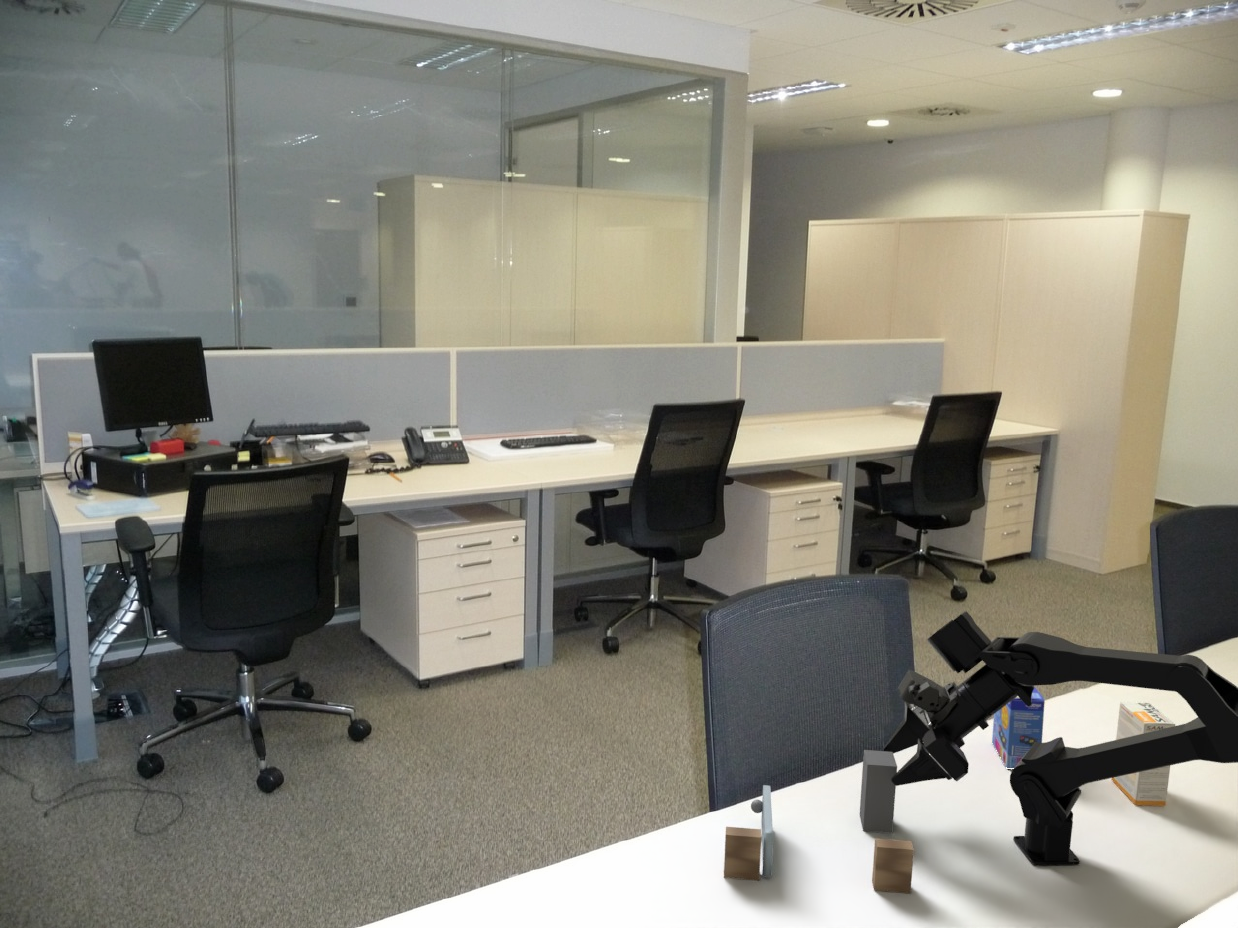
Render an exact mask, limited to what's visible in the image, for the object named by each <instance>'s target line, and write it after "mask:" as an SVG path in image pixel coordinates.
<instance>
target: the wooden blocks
mask: <svg viewBox="0 0 1238 928" xmlns="http://www.w3.org/2000/svg"><path fill="white" fill-rule="evenodd" d="M761 849H762V828H750V827H748V828H747V827H736V826H726V827H725V841H724V862H723V878H725V879H735V880H746V881H747V880H748V881H758V882H759V881H760V869H761V868H760V867H761V855H762V854H761V851H762V850H761ZM873 850H874V852H873V863H872V874H871V875H872V876H871V883H872V886H873V887H872V888H873V891H875V892H876V891H877V892H887V893H889V892H890V893H899V894H901V893H902V894H911V893H912V891H911V890H912V878H913V876H912V875H913V865H914V864H913V863H914V852H915V849H914V846H913V841H910V840H901V839H900V840H899V839H887V838H878V837H877V838H874V849H873Z"/></svg>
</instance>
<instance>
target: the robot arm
mask: <svg viewBox="0 0 1238 928" xmlns="http://www.w3.org/2000/svg"><path fill="white" fill-rule="evenodd" d="M926 642H928V644H930V646H931V647H932V648H933V649H934V650H935V651H936V653H937V654H938V655H939V656H940V657H941V658H942V660H943V661H944V662H945V663H946V664H947V666H948V667H950V669H951V671H953V672H956V673H957V674H959V673H961V672H963V673H964V674H967V673H968V672H970V671H971V670H972V669H973V668H975V667H976V666H977V665H979V664H980V663H981V662H982V661H983V663H984V665H983V666H981V667H980V668H978V669H977V670H976V671H975V672H973V674H971V675H970V676H969V677H967V678H966V679H965V680H964V681H963V682H961V683H960V684H957V683H956V682H955V681H953V682H949V683H947V684H946V685H945V686H942V685H940V684H939V683H937V682H935V681H934V680H932V679H930V678H928V677H927V676H924V675H922V674H920V673H919V672H917V671H916V670H915V671H914V670H912V669H908V671H907V672H906V673H905V675H904V677H903V679H902V680H901V682H900V684H899V685H898V686H897V690H898V691H899V692H900V694H899V696H900V699H902V701H904V717H903V719H902V721H900V724H899V725H898V727H897V728H896V730H895V731H894V733H893V734H892V735H891V737H889V740H888V741H887V742H886V744H885V745H884V747H883V749H882V751H886V752H893V754H896V753H899V752H901V751H904V750H906V749H909V748H911V747H914V746H916V747H917V748H916V753H915V754H914V755H913V756H911V757H910V759H908V761H907V762H906V763H904V765H903V766H902V767H901V768H900V769H898V770H897V773H896V774H895V775H894V776H893V777H892V779H891V781H892V782H893V783H894V784H895V785H896V787H898V786H903V785H910V784H914V783H915V784H916V783H920V782H926V781H933V780H942V779H947V780H948V781H950V780H952V779H953V780H954V781H955V782H958V781H959V780H961V779H962V778H964V777H965V776H966V775H968V774H969V764H970V763H969V761H968V759H967V757H966V754H965V752H964V751H963V750H962V749H961V748H962V747H963V746H965V744H966V743H965V741H964V738H966V737H967V736H968V735H969V734H970V733H972V732H973V731H974V730H975V729H977V728H978V727H980V729H981V730H983V731H984V730H985V729H987V728H988V727H989V726H990V725H989V723H988V721H987V720H989V719H990V718H991V717H992V716H994V714H995V713H996V712H998V711H999V710H1000V709H1001V708H1003V707H1004V706H1005V705H1007V704H1008V703H1009V702H1011V701H1012V700H1013V699H1014V698H1016V697H1017V696H1019V698H1020V699H1021V700H1022V701H1023V702H1024V703H1025V704H1026V705H1027V706H1031V705H1032V699H1031V697H1032V692H1033V690H1034V687H1035V686H1053V685H1060V684H1063V683H1068V682H1088V683H1096V684H1097V683H1098V684H1105V685H1106V684H1107V685H1115V686H1123V687H1124V686H1125V687H1131V688H1133V687H1134V688H1142V689H1150V690H1159V691H1167V692H1175V693H1177V694H1178V695H1179V696H1181V698H1183V699H1184V700H1185V702H1186V703H1187V704H1188V706H1189V707H1190V708H1191V710H1192V711H1193V712H1194V714H1195V715H1196V716H1197V717H1195V718H1194V719H1192V720H1191V721H1188V722H1186V723H1182V724H1178V725H1175V726H1173V727H1169V728H1165V729H1161V730H1156V731H1152V732H1148V733H1144V734H1139V735H1135V736H1131V737H1127V738H1122V739H1118V740H1116V739H1115V740H1110V741H1105V742H1102V743H1098V744H1097V743H1096V744H1093V745H1089V746H1084V747H1082V748H1081V747H1078V748H1076V747H1071V746H1070V747H1069V746H1065V743H1064V740H1063V739H1064V738H1063V737H1062V736H1060V737H1056V738H1055V739H1054V738H1053V739H1052V740H1050V741H1047V742H1042V743H1039V742H1035V743H1034V744H1033V746H1032V747H1031V748H1030V749H1029V750H1028V751H1027V752H1026V753H1025V755H1024V756H1023V757H1022V759H1021V760H1020V761H1019V762H1018V764H1017V765H1016V766H1015V768H1014V769H1013V770H1011V773H1010V776H1009V784H1010V787H1011V790H1012V791H1013V793H1014V794H1015V796H1016V797H1017V798H1018V800H1019V804H1020V807H1021V811H1022V814H1023V817H1024V818H1025V828H1024V835H1014V836H1013V838H1012V839H1013V842H1014V843H1015V844H1016V845H1017V847H1018V848H1019V850H1021V852H1022V853H1023V854H1024V855H1025V857H1026V858H1027V859H1028V860H1029V862H1030V863H1031V864H1032V865H1034V866H1059V865H1060V866H1061V865H1067V866H1068V865H1070V866H1072V865H1080V862H1081V860H1080V858H1079V857H1078V856H1077V855H1076V854H1075V853H1074V851H1073V850H1071V844H1072V843H1071V841H1072V833H1073V823H1074V821H1073V818H1074V813H1073V811H1072V810H1073V807H1075V805H1076V803H1077V801H1078V800H1079V798H1080V796H1081V795H1082V789H1081V788H1080V787H1083V786H1084V785H1086V784H1090V783H1096V782H1100V781H1104V780H1109V779H1112V778H1114V777H1119V776H1123V775H1128V774H1133V773H1137V772H1142V771H1147V770H1151V769H1156V768H1161V767H1165V766H1170V767H1171V766H1174V765H1179V764H1182V763H1188V762H1193V761H1206V762H1212V763H1217V764H1218V763H1219V764H1235V763H1236V764H1238V686H1237V685H1236V684H1234V683H1232V682H1231V681H1229V680H1228V679H1226V677H1223V676H1222V675H1221V674H1219V673H1217V672H1216V671H1215V670H1213V669H1212V668H1211V667H1210V666H1209V665H1208V664H1207V663H1206V662H1205V661H1204V660H1203V659H1202V658H1200V657H1198V656H1197V655H1192V654H1183V655H1175V654H1167V653H1165V654H1163V653H1154V652H1143V651H1133V650H1123V649H1113V648H1103V647H1102V648H1101V647H1091V646H1085V645H1080V644H1076V643H1074V642H1072V641H1070V640H1067V639H1065V638H1064V637H1060V636H1055V635H1051V634H1047V633H1044V632H1039V631H1029V632H1026V633H1024V634H1023V635H1021V636H1020V637H1019V636H1017V637H1015V636H996V637H995V638H994V639H993V640H991V639H990V638H989V637H988V636H987V635H986V634H985V632H984V631H983V630H982V629H981V628H980V627H979V625H977V623H976V622H975V620H974V619H973V617H972V616H971V614H970V613H969V612H968V611H963V612H962V613H961V614H960V615H958V616H956V618H954V619H951V620H949V621H948V622H947V623H945V624H944V625H943V626H942V627H940V628H939V629H938V630H937V631H936V632H934V633H933V634H931V635H930V636H929V637H928V638H927V639H926Z"/></svg>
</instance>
